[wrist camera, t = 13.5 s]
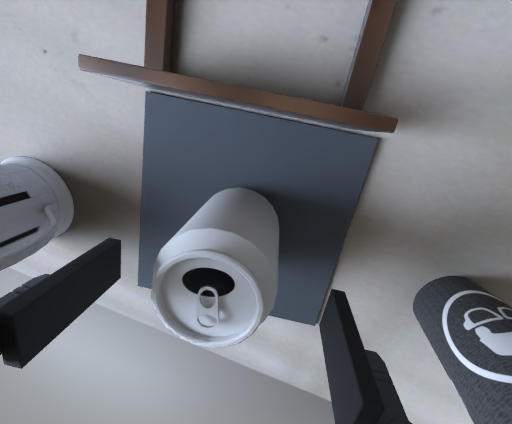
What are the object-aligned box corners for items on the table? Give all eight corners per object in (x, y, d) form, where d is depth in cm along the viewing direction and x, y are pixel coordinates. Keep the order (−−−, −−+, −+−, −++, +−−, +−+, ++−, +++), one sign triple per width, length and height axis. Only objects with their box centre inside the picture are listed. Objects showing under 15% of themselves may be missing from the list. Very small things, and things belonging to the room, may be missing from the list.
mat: (377, 138, 22) (379, 138, 21) (314, 323, 28) (315, 325, 28) (147, 91, 22) (145, 91, 22) (139, 283, 29) (137, 285, 29)
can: (281, 187, 23) (280, 247, 12) (277, 260, 26) (273, 366, 14) (201, 183, 24) (128, 236, 13) (204, 254, 26) (145, 352, 15)
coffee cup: (376, 307, 27) (481, 511, 13) (453, 243, 24) (699, 417, 10) (442, 355, 28) (604, 590, 14) (523, 299, 25) (834, 528, 11)
